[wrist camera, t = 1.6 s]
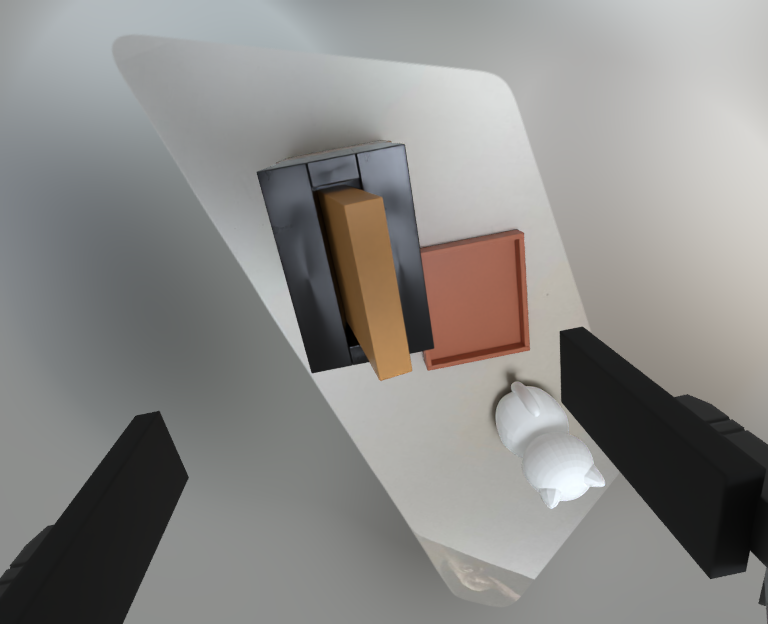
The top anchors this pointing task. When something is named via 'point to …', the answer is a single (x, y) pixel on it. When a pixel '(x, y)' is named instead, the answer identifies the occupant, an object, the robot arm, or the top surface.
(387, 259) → the toast
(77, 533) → the robot arm
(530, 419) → the cat figurine
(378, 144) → the toaster
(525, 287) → the tray
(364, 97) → the top surface
